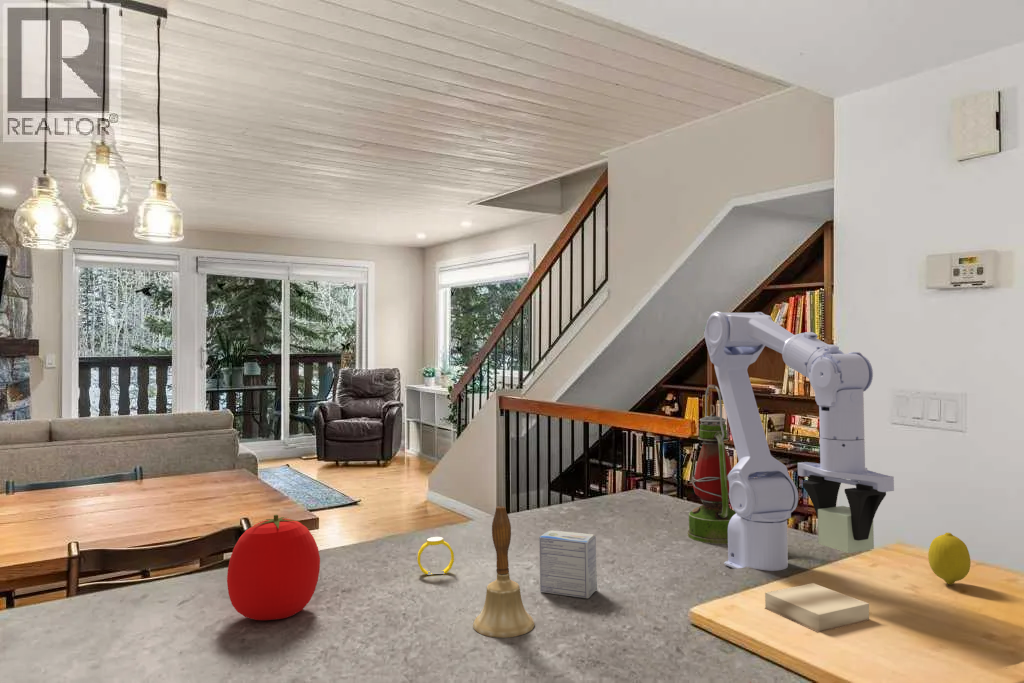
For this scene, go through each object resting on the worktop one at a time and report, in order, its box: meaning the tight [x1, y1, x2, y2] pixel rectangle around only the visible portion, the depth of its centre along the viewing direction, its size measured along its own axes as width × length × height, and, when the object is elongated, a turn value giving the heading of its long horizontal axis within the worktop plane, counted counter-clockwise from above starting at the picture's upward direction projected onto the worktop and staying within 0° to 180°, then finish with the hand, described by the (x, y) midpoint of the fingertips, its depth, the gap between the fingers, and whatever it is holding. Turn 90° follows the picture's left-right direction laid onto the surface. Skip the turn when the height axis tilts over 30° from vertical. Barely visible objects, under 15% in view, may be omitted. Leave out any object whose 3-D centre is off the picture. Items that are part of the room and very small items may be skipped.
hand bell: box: [472, 505, 535, 639], centre depth 93 cm, size 8×8×16 cm
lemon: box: [927, 532, 972, 585], centre depth 107 cm, size 6×6×8 cm
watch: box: [416, 536, 455, 575], centre depth 115 cm, size 6×3×6 cm, turn 102°
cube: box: [817, 505, 875, 554], centre depth 98 cm, size 5×5×5 cm
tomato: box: [226, 514, 321, 621], centre depth 98 cm, size 13×11×14 cm
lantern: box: [687, 384, 736, 545], centre depth 137 cm, size 14×11×30 cm
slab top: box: [764, 582, 870, 631], centre depth 92 cm, size 9×9×2 cm
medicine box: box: [538, 529, 598, 599], centre depth 106 cm, size 8×4×9 cm, turn 65°
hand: (844, 534), depth 97 cm, fingers closed on cube, 5 cm apart
